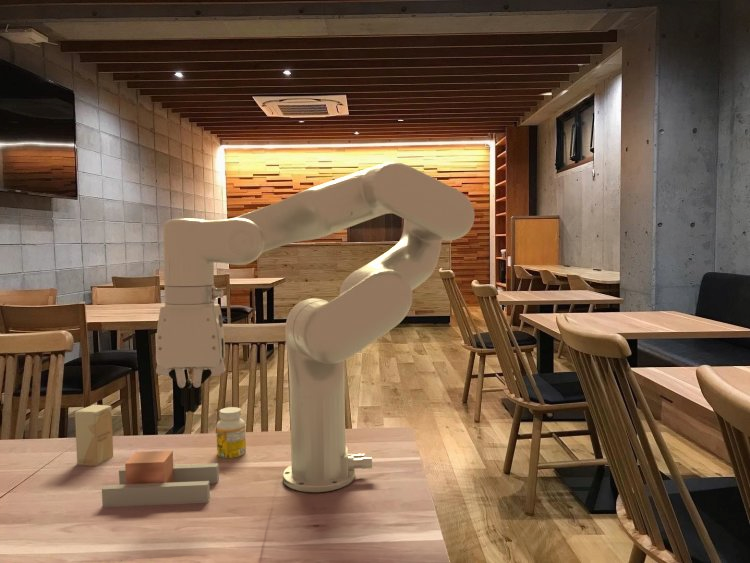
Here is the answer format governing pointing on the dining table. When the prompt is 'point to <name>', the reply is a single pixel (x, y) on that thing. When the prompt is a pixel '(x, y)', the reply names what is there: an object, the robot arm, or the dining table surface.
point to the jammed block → (150, 467)
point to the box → (94, 435)
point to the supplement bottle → (230, 433)
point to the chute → (164, 488)
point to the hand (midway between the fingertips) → (191, 409)
